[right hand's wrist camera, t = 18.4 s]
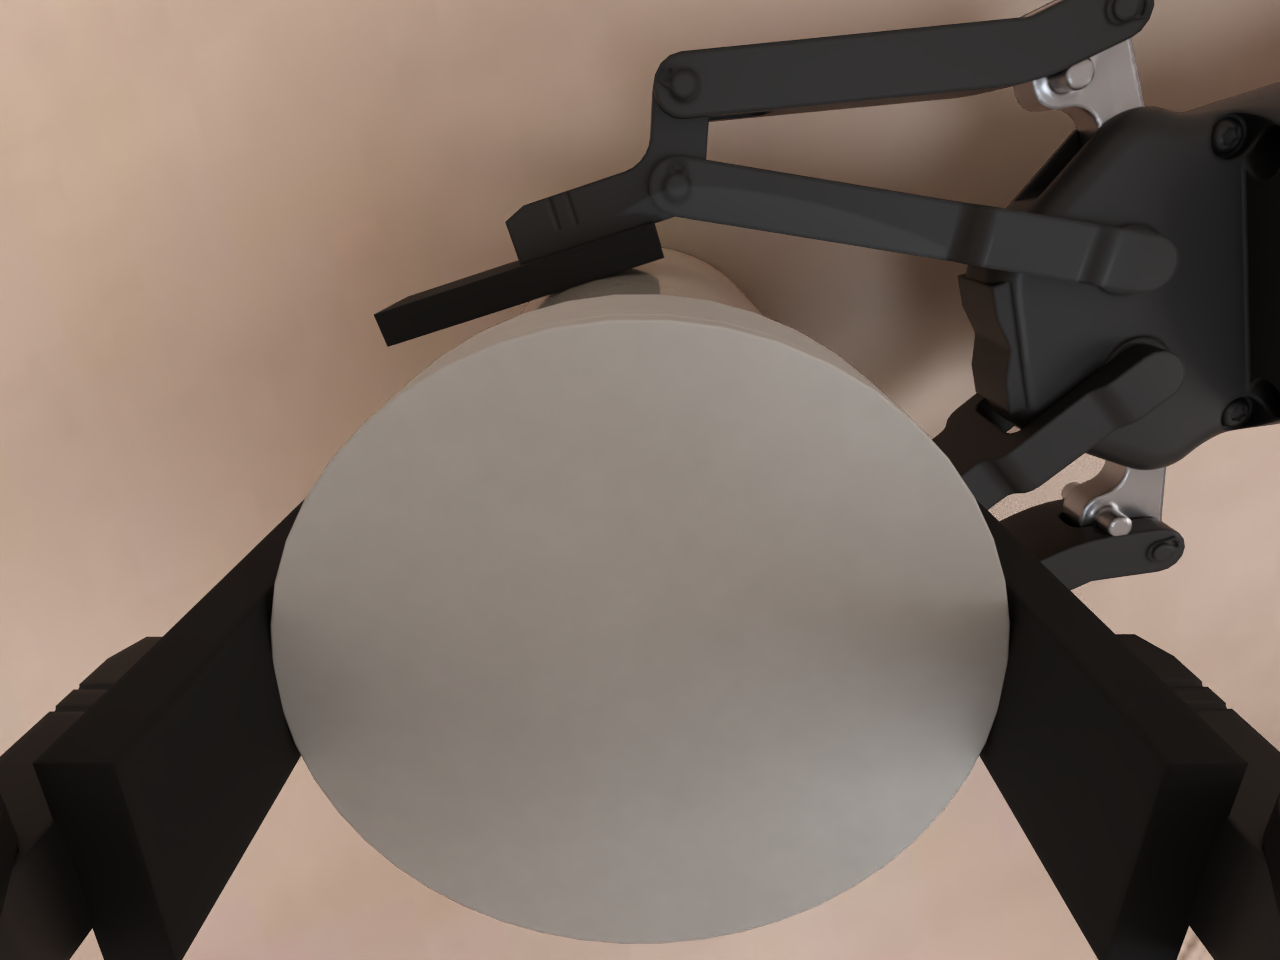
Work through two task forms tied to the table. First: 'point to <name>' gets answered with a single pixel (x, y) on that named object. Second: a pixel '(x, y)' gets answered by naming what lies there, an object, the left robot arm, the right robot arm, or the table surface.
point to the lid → (640, 623)
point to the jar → (658, 283)
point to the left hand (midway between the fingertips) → (472, 494)
